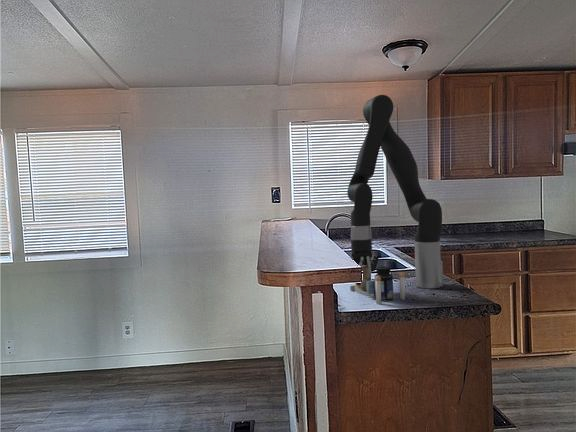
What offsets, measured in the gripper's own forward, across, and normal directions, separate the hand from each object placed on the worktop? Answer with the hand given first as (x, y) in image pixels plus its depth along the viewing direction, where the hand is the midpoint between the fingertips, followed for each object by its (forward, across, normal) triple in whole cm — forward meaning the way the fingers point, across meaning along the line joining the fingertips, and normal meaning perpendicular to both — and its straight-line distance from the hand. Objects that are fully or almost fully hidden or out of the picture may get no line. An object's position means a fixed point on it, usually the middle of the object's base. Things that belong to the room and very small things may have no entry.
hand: (362, 283), depth 166 cm
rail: (+3, 0, +2) cm, 4 cm away
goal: (+3, 0, +16) cm, 16 cm away
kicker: (+2, 0, +3) cm, 4 cm away
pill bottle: (+3, 0, +13) cm, 13 cm away
